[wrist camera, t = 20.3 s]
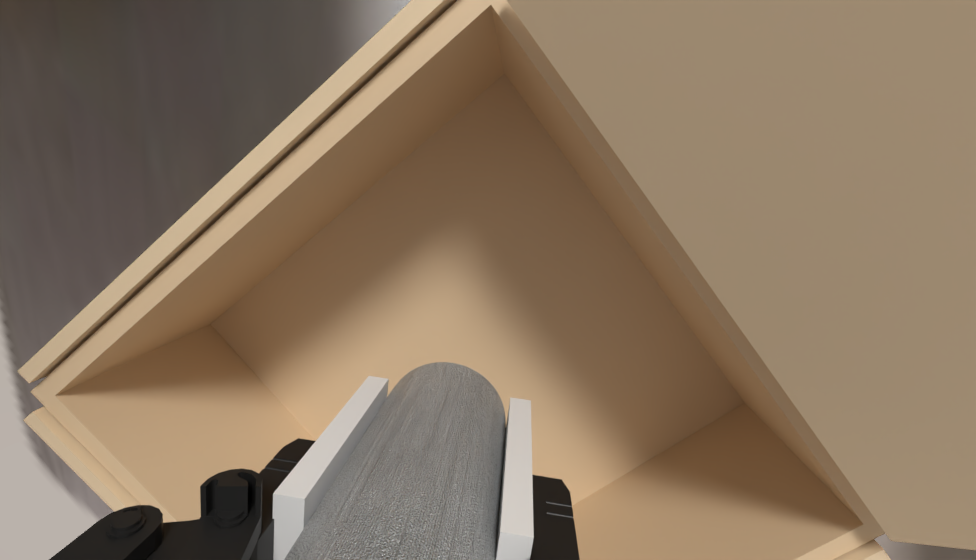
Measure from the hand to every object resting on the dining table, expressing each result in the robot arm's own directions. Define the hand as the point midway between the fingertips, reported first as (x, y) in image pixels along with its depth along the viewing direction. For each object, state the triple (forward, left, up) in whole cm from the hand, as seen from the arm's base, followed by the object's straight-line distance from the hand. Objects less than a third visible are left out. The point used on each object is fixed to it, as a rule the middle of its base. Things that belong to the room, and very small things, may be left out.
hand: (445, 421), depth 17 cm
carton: (0, +1, -5) cm, 5 cm away
